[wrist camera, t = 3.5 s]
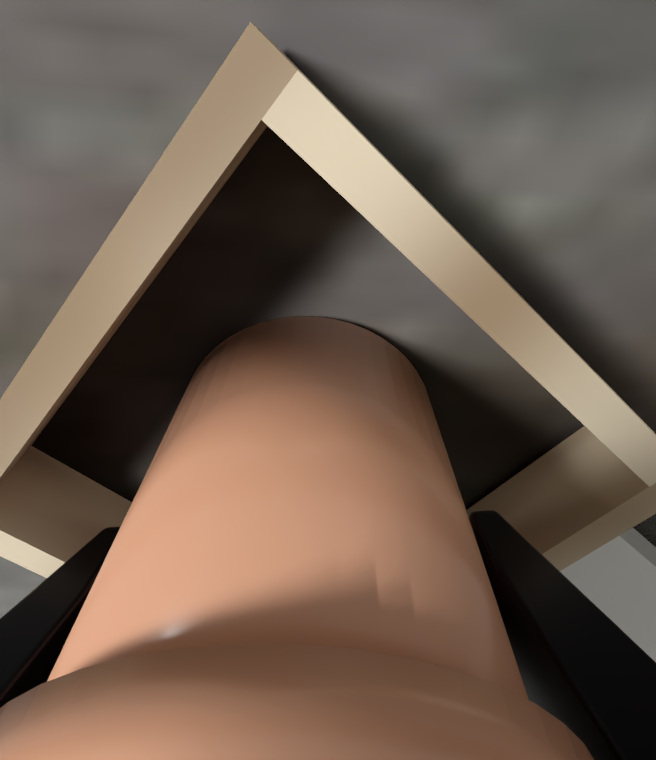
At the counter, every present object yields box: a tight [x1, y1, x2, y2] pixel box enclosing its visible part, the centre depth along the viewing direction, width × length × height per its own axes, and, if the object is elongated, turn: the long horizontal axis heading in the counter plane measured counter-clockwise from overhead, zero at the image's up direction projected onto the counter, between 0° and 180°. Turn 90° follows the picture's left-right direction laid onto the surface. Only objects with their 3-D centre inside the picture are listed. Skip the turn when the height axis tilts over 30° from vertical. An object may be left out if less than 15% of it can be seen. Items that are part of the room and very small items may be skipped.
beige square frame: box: [0, 22, 656, 578], centre depth 10 cm, size 10×10×2 cm
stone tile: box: [560, 528, 656, 662], centre depth 14 cm, size 6×6×2 cm
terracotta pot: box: [0, 316, 594, 760], centre depth 8 cm, size 6×6×8 cm
